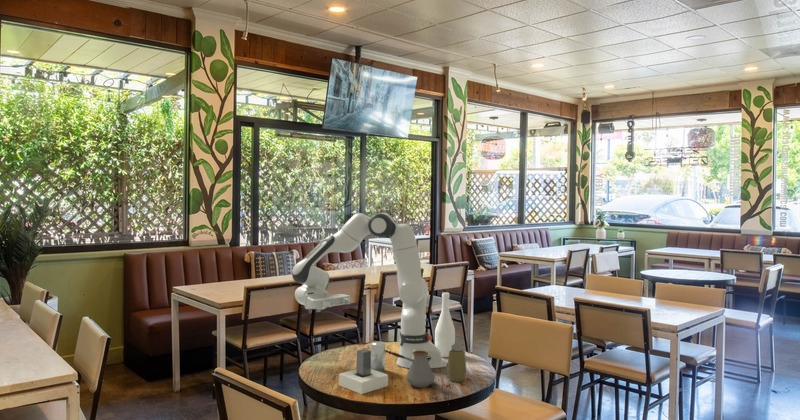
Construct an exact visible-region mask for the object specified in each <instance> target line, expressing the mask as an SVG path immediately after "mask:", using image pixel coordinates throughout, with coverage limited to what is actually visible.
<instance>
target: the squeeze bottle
mask: <svg viewBox="0 0 800 420" xmlns="http://www.w3.org/2000/svg"><path fill="white" fill-rule="evenodd" d="M463 349H464V346H463V344H461V342H460V338H459V336H455V343H454V345H452V350H450V351H449V357H447V358H448V361H447V366H446V372H447V376H448V379H449V380H450V381H451V382H456V383H459V382H463V381H464V379H465V377H466V374H467V362H466V352H465V350H463Z"/></svg>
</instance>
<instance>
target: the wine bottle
mask: <svg viewBox="0 0 800 420" xmlns="http://www.w3.org/2000/svg"><path fill="white" fill-rule="evenodd" d="M441 293H442V294H441V298H442V300H441V312H440V315H439V318H438V320H437V324H436V327H435V329H434V345H435V346H436V347H437V348H439V350H440V352H441V356H442V358H449V351H450V350H452V345H454V343H455V339H456V329H455V326H454V322H453V319H452V316H451V313H450V293H449V292H445V291H444V292H441Z"/></svg>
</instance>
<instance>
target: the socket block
mask: <svg viewBox="0 0 800 420" xmlns="http://www.w3.org/2000/svg"><path fill="white" fill-rule="evenodd" d="M356 372H357V368H355V369H352V370H348V371H345V372H341V373H339V374H338V386H340V387H342V388H345V389H348V390H350V391H353V392H355V393H358V394H360V395H363V394H366V393H369V392H374V391H377V390H379V389H383V388H387V387H388V386H389V374H387V373H385V372H383V373H382V372H379V371H376V370H373V369H371V376H367V377H364V378H362V377H359V376H357V375H356Z"/></svg>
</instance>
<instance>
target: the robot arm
mask: <svg viewBox="0 0 800 420" xmlns="http://www.w3.org/2000/svg"><path fill="white" fill-rule="evenodd" d="M370 234H371V235H373V236H374V237H377V238H382V239H383V238H384V239H389V240H390V243H391V246H392V251H393V255H394V261H395V265H396V277H397V286H398V287H397V288H398V296H399V299H400V301H401V302H402V307H401V308H402V309H401V313H400V332H399V343H398V344H399V352H398V354H400V355H402V356H404V357H407V358H410V359H414V355H413V352H414V351H426V352H428V355H427V360H428V362H429V365H430V367H431V369H441V368H447V367H448V361H446V359H444V357H442V356H441V352H440V350H439V348H437V347H436V346H435V343H433V342H432V341H431V340H432V339H433V336H432V335H431V334H429V333H428V332H426V314H427V305H428V303H427V301H428V290H429V289H428V288H429V287H428V282H427V281H426V279H424V278H423V277H422V265H421V264H422V263H421V259H420V253H419V248H418V247H419V246H418V245H417V244H418V243H417V240H416V236H415V232H414V230H413V228H412V226H411V225H409V224H408V223H396V220H395V218H394V216H393V215H391V214H389V213H386V212H378V213H375V214H373V215H371V216H370V217H369V216H367V215H366V214H364V213H361V212H356V213H355V214H354V215H352V216H351V217H350V218H349V219H348V220H347V221H346V222H345V224H344V225H342V227H341V228H340V229H339V230H338V231H337V232H335V233H334V234H332V235H328V236H326V237H325V238H323V239H322V240H321V241H320V242H318V244H317V245H316V246H315V247H314V248H313V249H311V250H310V251H309V253H307V255H305V256H304V257H303V258H301V259H300V260H299V261H297V262H296V263H295V264H294V265H293V267H292V268H291V269H292V270H291V275H292V279H293V281H294V282H295V283H298V284H301V286H298V287H297V288H296V289H295V291H294V297H295V300H296V301H297V303H299V304H300V305H302V306H304V309H305V310H321V311H322V310H325V309H327V308H332V307H335V306H341V305H350V304H351V295H349V294H343V293H335V294H334V293H333V294H330V292H329V291H328V290H327V289H328V288H329V284H330V275H329V272H327V271H325V270H323V269H322V268H320V267H317V266H315V265H316V264H317V263H318V262H319V261H320V260H321V259H322V258H324V257H325V256H326V255H327V254H330V253H342V254H343V253H344V254H347V253H351V252H354V251H355V250H357V248H358V247H359V245H360V244H361V243H362V242H363V240H364V239H365V238H366V237H367V236H368V235H370ZM411 364H412V361H409V360H406V359H403V358H400V357H397V361H396V365H397V366H399V367H402V368H406V369H409V368H410V366H411Z"/></svg>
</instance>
